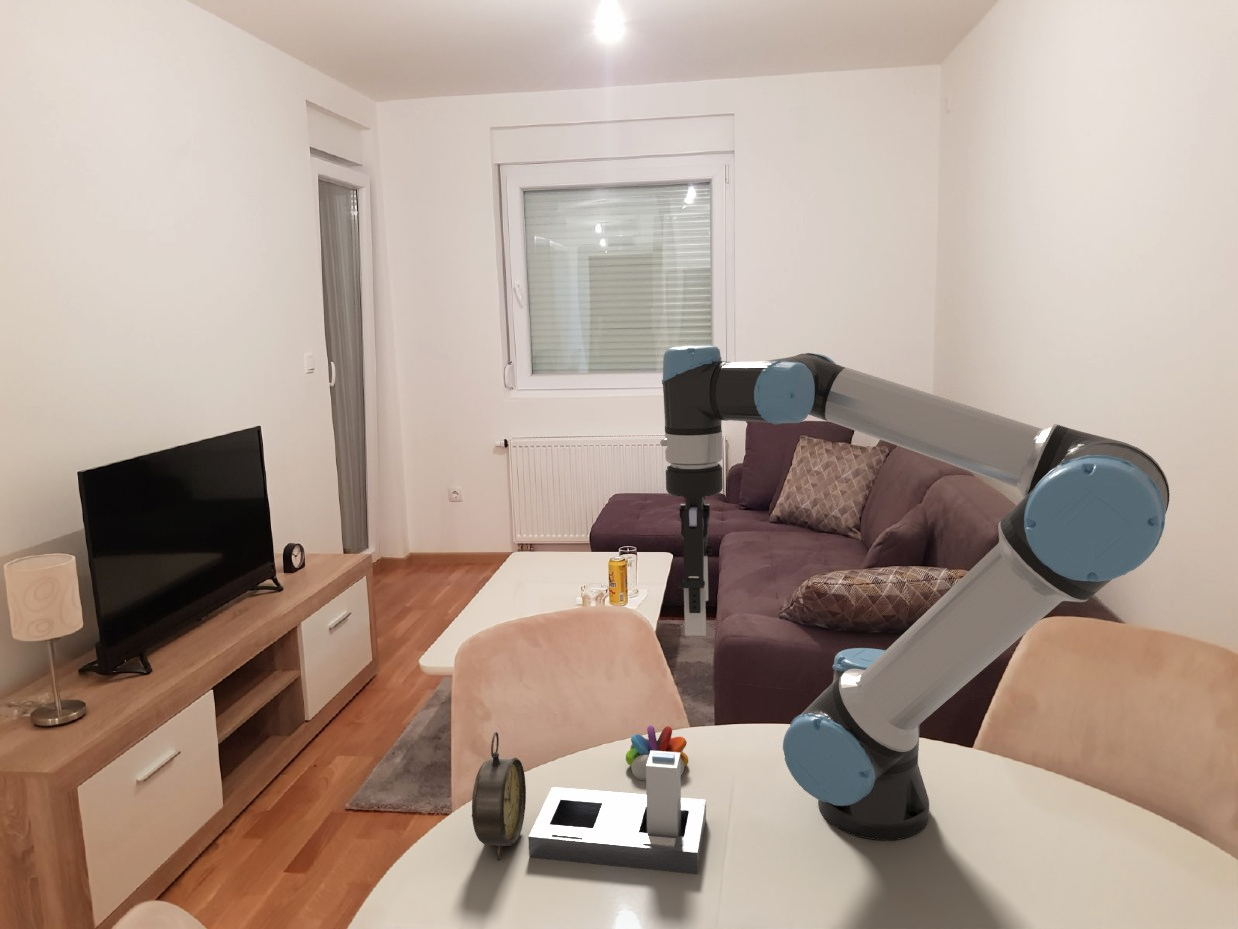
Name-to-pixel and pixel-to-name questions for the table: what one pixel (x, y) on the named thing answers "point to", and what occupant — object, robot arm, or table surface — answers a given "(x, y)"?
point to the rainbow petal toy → (653, 749)
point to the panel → (615, 831)
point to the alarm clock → (499, 800)
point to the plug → (663, 793)
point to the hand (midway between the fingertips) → (697, 616)
